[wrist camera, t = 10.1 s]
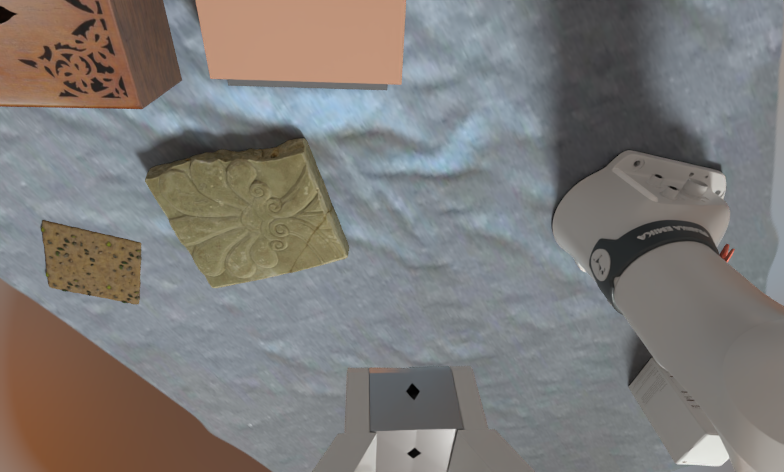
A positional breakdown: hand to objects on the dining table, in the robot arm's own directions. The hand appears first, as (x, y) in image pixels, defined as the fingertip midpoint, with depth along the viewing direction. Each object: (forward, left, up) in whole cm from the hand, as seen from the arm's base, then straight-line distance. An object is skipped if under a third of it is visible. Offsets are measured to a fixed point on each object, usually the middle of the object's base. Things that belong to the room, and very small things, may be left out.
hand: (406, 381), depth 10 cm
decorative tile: (+15, +20, -42) cm, 49 cm away
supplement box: (-55, +55, -41) cm, 88 cm away
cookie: (+38, +29, -42) cm, 63 cm away
